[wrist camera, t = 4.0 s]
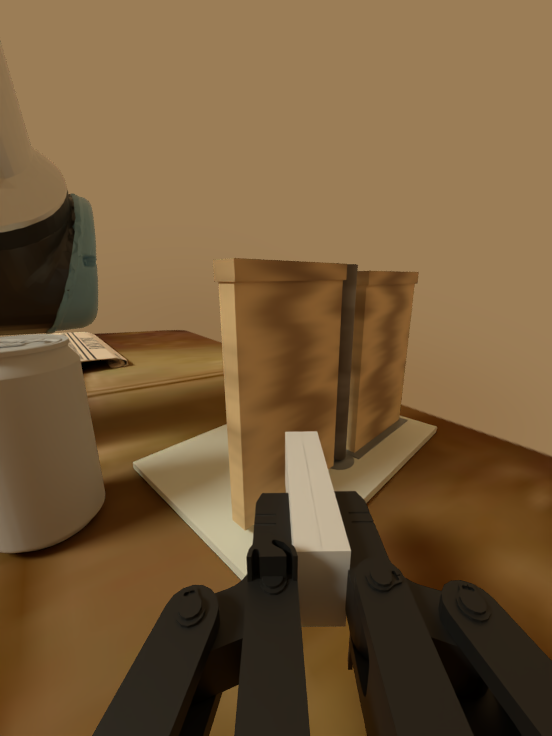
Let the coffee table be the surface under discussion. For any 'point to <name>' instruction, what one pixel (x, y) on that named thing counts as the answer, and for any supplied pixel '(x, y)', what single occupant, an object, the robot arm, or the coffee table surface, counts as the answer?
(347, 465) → the mat
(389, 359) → the panel
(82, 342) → the newspaper
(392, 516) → the coffee table surface
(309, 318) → the fence panel
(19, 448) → the beverage can
